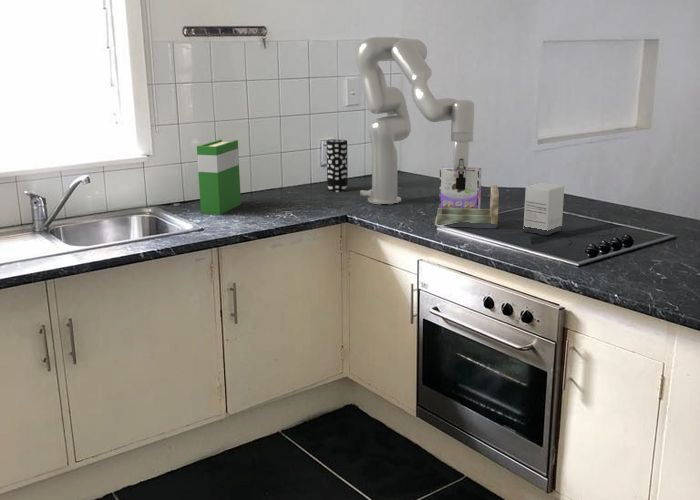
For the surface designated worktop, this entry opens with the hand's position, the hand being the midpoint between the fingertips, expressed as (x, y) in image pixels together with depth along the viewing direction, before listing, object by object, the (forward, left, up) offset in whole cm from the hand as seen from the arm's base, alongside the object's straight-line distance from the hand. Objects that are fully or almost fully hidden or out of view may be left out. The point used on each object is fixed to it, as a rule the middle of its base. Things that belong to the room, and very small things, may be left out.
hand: (460, 186), depth 262 cm
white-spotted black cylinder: (-49, +38, -10) cm, 63 cm away
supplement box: (+26, -22, -10) cm, 36 cm away
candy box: (0, 0, -10) cm, 10 cm away
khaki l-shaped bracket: (+2, -14, -10) cm, 17 cm away
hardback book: (-86, 0, -10) cm, 87 cm away
